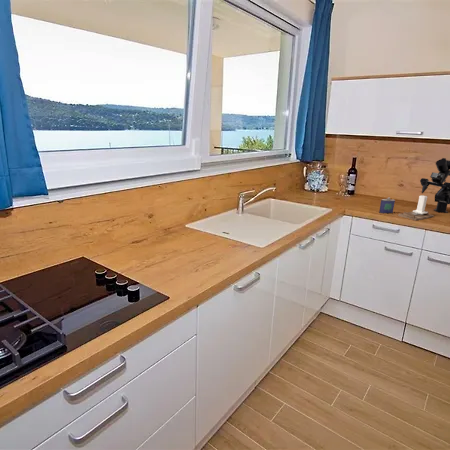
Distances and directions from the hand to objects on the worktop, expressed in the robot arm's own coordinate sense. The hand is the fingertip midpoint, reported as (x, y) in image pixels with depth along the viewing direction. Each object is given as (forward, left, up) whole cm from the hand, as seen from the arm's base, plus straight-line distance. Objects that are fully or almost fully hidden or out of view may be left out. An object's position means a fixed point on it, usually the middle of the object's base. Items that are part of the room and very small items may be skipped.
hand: (429, 194), depth 215 cm
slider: (+3, -5, -11) cm, 13 cm away
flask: (0, -25, -14) cm, 29 cm away
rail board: (+5, -8, -14) cm, 17 cm away
